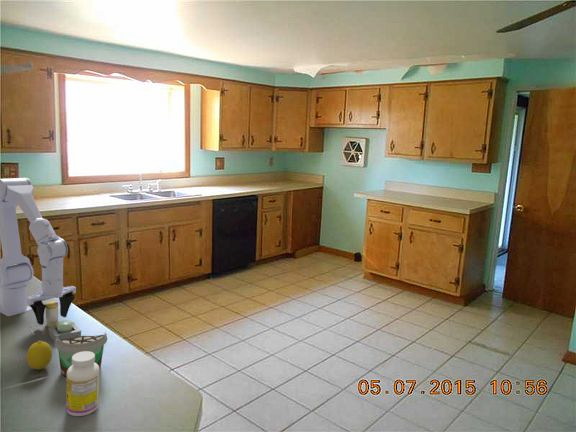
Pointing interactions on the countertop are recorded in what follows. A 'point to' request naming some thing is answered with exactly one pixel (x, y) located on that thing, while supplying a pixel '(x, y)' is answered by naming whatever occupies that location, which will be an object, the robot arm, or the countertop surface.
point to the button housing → (66, 335)
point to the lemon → (39, 355)
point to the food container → (79, 349)
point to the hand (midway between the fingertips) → (52, 319)
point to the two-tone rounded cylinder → (51, 313)
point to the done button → (64, 326)
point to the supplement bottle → (82, 384)
